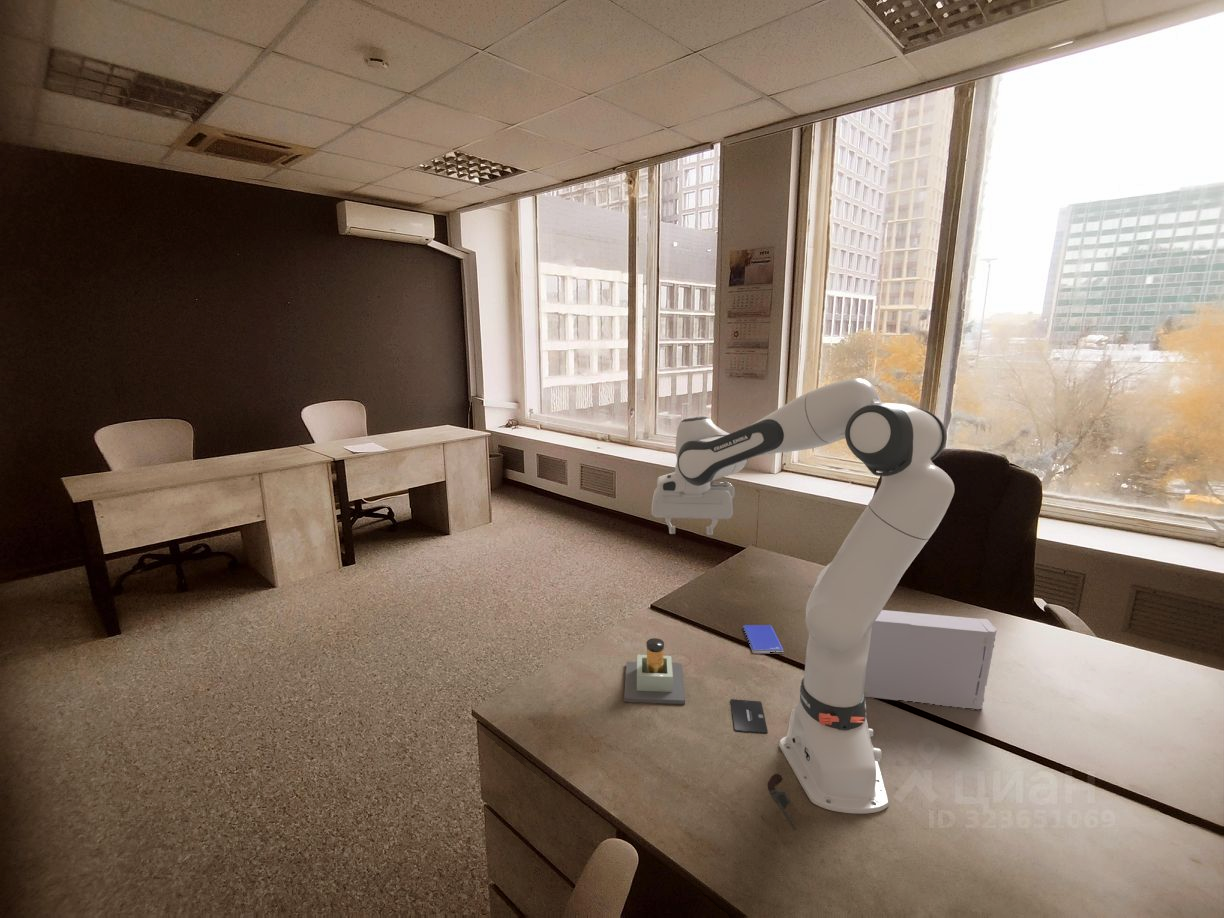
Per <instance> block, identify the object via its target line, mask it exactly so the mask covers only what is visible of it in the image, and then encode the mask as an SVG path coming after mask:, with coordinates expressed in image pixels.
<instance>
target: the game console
mask: <svg viewBox="0 0 1224 918" xmlns="http://www.w3.org/2000/svg"><path fill="white" fill-rule="evenodd" d="M996 635H997V628H996V627H995V626H994V625H993V623H991V621H989V619H988V618H974V617H965V616H964V617H963V616H952V615H944V614H943V615H941V614H931V613H921V612H920V613H919V612H918V613H917V612H907V611H899V610H898V611H897V610H886V609H882V611H881V612H880V614H879V615H878V617H877V619H876V620H875V622H874V623H873V625H872V632H871V639H870V646H869V653H868V660H867V668H866V676H865V684H864V695H865V698H866V697H867V698H876V699H882V700H891V701H898V700H906V701H905V702H907V701H913V702H912V703H915V702H922V703H921V704H923V703H930V704H929V705H932V704H935V705H934V706H940V705H942V707H949V706H952V707H951V708H957V707H964V708H963V709H965V708H974V709H981V708H982V709H983V704H984V702H985V693H986V692H985V691H986V687H987V685H988V679H989V674H990V673H989V672H990V667H991V662H992V658H993V657H992V656H993V652H994V651H993V650H994V648H995V641H996ZM953 706H954V707H953ZM974 709H973V710H974ZM982 709H981V710H982Z"/></svg>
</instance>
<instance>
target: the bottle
mask: <svg viewBox="0 0 1224 918" xmlns="http://www.w3.org/2000/svg"><path fill="white" fill-rule="evenodd" d="M664 649H665V642H664V640H662V639H660V638H658V637H657V638H656V637H655V638H654V637H653V638H652V637H651V638H649V639H647V641H646V655H647V673H663V658H664V656H665V655H664V654H665V653H664V652H665V651H664Z"/></svg>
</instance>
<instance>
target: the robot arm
mask: <svg viewBox="0 0 1224 918" xmlns="http://www.w3.org/2000/svg"><path fill="white" fill-rule="evenodd" d="M947 436H948V435H947V430H946V426H945V425H944V423H943V422H942V421H941V419H940V418H938V416H936V415H935V414H934V413H932V412H930V411H929V410H926V409H923V408H918V407H915V406H913V405H910V404H906V403H896V402H892V403H891V402H886V401H884V402H883V401H882V399H881V396H880V394H879V392H878V390H877V388H876V386H874V385H873V384H872V383H871V382H870V381H868V380H867V379H864V378H860V377H859V378H858V377H853V378H848V379H842V380H840V381H836V382H833V383H829V384H827V385H823V386H821V387H818V388H815V389H813V390H810V391H807V392H806V393H804V394H802V395H800V396H798V397H796V398H794V399H792V400H791V401H789V402H787V403H786V404H784V405H783V406H780V407H779V408H778V409H776V410H774V411H772V412H770V413H769V414H767V415H765V416H763V418H761V419H759V420H757V421H755V422H753V423H752V424H749V425H748V426H746V427H743V428H741V429H738V430H736V431H733V432H731V433H729V432H727V431H725V430H723V429H722V428H720V427H719V426H717V425H716V424H715V423H714V422H713V420H712V419H711V418H710V417H708V416H696V417H690V418H685V419H682V420H681V421H680V422H679V423H678V426H677V429H676V437H675V455H676V463H675V468H674V471H673V472H671V473H667V474H664V475H660V476H658V478H657V480H656V488H654V490H653V491H654V492H653V495H652V501H651V511H650V512H651V515H652V516H653V517H654V518H655V519H656V518H659V519H661V518H664V520H665V523H666V524H667V527H668V533H669V534H670V535H676V525H672V523H671V521H672V519H711V524H709V525H707V526H706V532H705V533H706V535H708V536H709V535H710V536H713V535H714V529H715V527H716V526H718V525H717V524H718V523H719V520H720V519H721V520H730V519H731V518H732V517H733V516H734V513H733V512H734V511H733V510H734V508H733V507H734V505H733V498H734V496H735V492H736V491H735V490H736V489H735V486H734V485H733V484H732V483H729V481H715V480H718V479H723V478H726V477H729V476H732V475H734V474H737V473H739V472H741V471H742V470H744V468H745V467H746V466H747V464H748V460H750V459H752V458H755V457H760V456H764V455H771V454H773V455H774V454H779V453H780V454H781V453H787V452H788V453H789V452H795V451H796V452H798V451H803V450H811V449H815V448H819V447H823V446H827V445H830V444H832V443H836V442H839V441H842V440H845V442H846V444H847V446H848V448H849V450H850V451H851V453H852V454H853V455H854V456H855V457H856V458H858V460H859V461H861V462H862V463H863V464H864V466H866V467H867V469H868V471H870V473H871V474H872V475H874V476H877V477H881V482H880V484H879V487H878V489H877V491H876V492H875V493H874V495H873V496H872V497H871V499H870V501H869V502H868V504H867V505H866V507H865V508H864V510H863V511H862V513H861V514H860V516H859V517H858V519H857V520H856V522H855V524H854V525H853V527H852V528H851V529H850V530H849V533H848V534H847V536H845V537H846V538H845V539H844V541H843V542H842V544H841V546H840V547H839V549H838V551H837V553H836V554H835V556H834V557H833V559H832V561H831V562H830V563H828V564H827V565H826V566H824V567H823V569H822V570H821V571H820V573H819V575H818V577H817V578H816V582H815V584H814V586H813V589H812V590H811V593H810V595H809V597H808V600H807V602H806V606H805V624H806V625H805V626H806V629H807V632H808V634H809V635H808V639H807V645H806V650H805V651H806V652H805V653H806V654H805V663H804V664H805V665H804V675H803V678H802V679H801V683H800V686H799V687H800V688H799V700H798V703H797V704H796V705H795V706H793V708H792V710H791V712H790V717H789V723H788V728H787V733H786V734H787V735H786V736H784V737H782V738H781V739H780V741H779V744H778V745H779V748H780V750H781V751H782V754H783V755H784V757H785V759H786V761H787V762H788V765H790V767H791V769H792V771H793V773H794V774H795V777H796V778H797V780H798V782H799V783H800V785H801V787H802V788H803V790H804V792H805V794H806V795H807V797H808V799H809V801H810V802H811V803H812V804H814V805H816V806H818V807H821V808H822V809H825V810H829V811H833V812H838V813H846V814H859V815H860V814H863V815H865V814H872V813H878V812H881V811H884V810H885V809H887V808H888V806H889V798H888V795H887V791H886V787H885V783H884V779H883V776H882V773H881V772H882V771H881V769H880V764H879V762H882V756H883V755H882V754H883V753H882V750H881V748H879V747H874V745H873V744H872V739H871V737H874V729H873V728H870V727H869V724H868V720H867V712H866V711H867V704H866V696H865V695H864V684H865V676H866V668H867V660H868V653H869V646H870V639H871V632H872V625H873V623H874V622H875V620H876V619H877V617H878V615H879V614H880V612H881V611H882V610H884V607H885V606H886V605H887V602H888V601H889V600H890V598H891V596H892V594H893V592H894V591H895V589H896V587H897V585H898V584H899V583H900V580H901V578H902V577H903V576H904V574H905V573H906V571H907V570H908V568H909V567H910V566H911V564H912V562H914V560H915V558H916V557H917V556H918V554H920V552H921V550H922V549H923V548H924V546H925V545H926V544H927V542H928V541H929V540H930V538H931V537H932V535H933V534H934V533H935V532H936V530H937V528H938V527H939V525H940V523H941V522H942V520H943V518H944V516H945V515H946V513H947V510H948V508H949V507H950V504H951V502H952V499H953V497H954V494H955V484H954V482H953V479H952V478H951V476H950V475H948V473H947V472H945V470H943V469H942V468H940V467H939V466H937V465H935V463H934V462H933V461H934V460H935V459H937V458H938V457H939V456H940V455H941V453H942V452H943V450H944V449H945V447H946V444H947V439H948V437H947Z"/></svg>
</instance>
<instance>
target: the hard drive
mask: <svg viewBox="0 0 1224 918" xmlns="http://www.w3.org/2000/svg"><path fill="white" fill-rule="evenodd" d="M743 628H744V629H743ZM742 629H743V631H745V632H744V634H745V633H746V634H745V636H746V635H747V637H746V639H747V638H748V639H747V641H748V640H749V642H748V644H749V643H750V644H749V647H750V649H751V652H752V653H753V654H771V653H770V652H775V651H776V652H784V653H785V650H784V648H783V646H782V644H781V642H780V640H779V638H778V636H777V634H776V632H775V630H774V628H773V626H772V625H770V624H769V625H768V624H766V625H765V624H761V625H760V624H755V625H754V624H746V625H744V624H743V626H742Z"/></svg>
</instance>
